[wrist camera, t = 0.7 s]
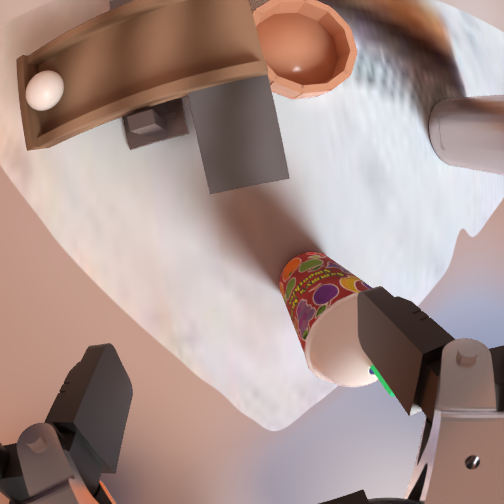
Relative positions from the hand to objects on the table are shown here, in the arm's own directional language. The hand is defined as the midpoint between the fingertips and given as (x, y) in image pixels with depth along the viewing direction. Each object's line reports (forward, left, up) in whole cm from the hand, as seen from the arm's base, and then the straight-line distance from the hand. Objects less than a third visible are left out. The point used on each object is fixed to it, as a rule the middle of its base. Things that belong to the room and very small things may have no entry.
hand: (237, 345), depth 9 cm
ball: (+11, -15, -16) cm, 25 cm away
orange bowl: (-12, -15, -24) cm, 30 cm away
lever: (+3, -11, -19) cm, 22 cm away
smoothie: (-8, +10, -24) cm, 27 cm away
